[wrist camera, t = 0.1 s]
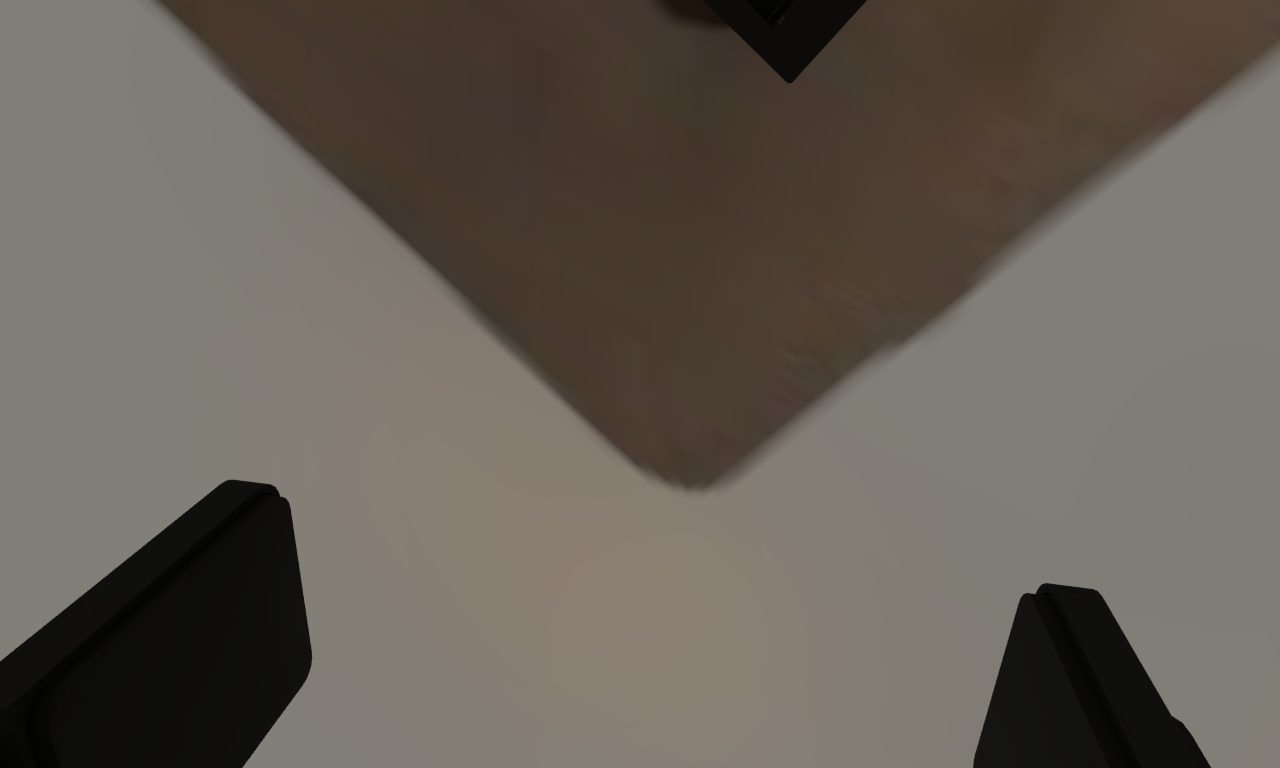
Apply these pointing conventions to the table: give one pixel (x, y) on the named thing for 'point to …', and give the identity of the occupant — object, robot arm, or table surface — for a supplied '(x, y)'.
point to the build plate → (786, 28)
